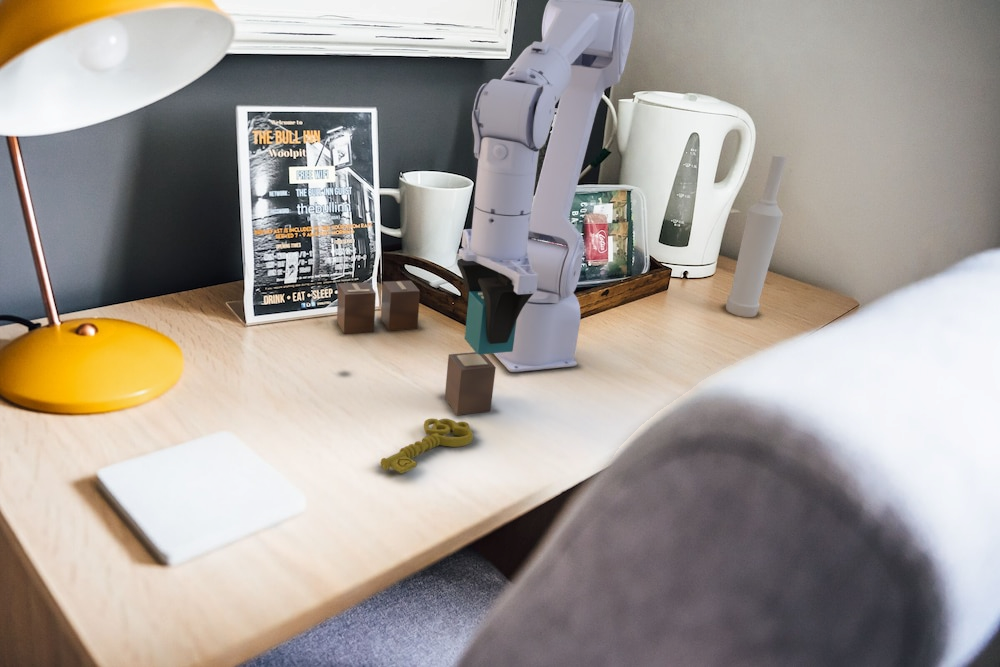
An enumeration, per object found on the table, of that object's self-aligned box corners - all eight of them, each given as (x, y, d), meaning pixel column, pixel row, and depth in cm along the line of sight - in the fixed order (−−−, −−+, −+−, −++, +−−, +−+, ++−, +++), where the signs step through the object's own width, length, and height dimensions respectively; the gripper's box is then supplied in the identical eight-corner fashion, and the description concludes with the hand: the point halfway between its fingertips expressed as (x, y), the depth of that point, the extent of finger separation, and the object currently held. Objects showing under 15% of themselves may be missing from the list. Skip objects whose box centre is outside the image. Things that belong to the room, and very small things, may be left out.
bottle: (722, 303, 127) (759, 150, 117) (754, 308, 126) (793, 155, 116) (726, 314, 122) (765, 156, 112) (759, 319, 121) (801, 161, 112)
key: (400, 468, 71) (363, 446, 73) (399, 480, 71) (363, 458, 74) (483, 427, 79) (448, 409, 82) (482, 438, 80) (447, 419, 83)
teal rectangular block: (498, 336, 85) (503, 288, 82) (512, 351, 81) (519, 302, 79) (464, 338, 83) (469, 290, 81) (477, 354, 80) (483, 304, 77)
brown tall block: (477, 394, 88) (481, 350, 86) (490, 411, 85) (496, 366, 83) (444, 398, 87) (448, 353, 85) (457, 415, 84) (461, 369, 81)
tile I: (408, 317, 107) (411, 279, 105) (417, 328, 104) (420, 289, 101) (380, 319, 105) (382, 280, 103) (388, 330, 102) (390, 291, 100)
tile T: (366, 320, 105) (367, 281, 102) (374, 331, 101) (375, 292, 99) (336, 321, 103) (337, 282, 101) (343, 334, 100) (345, 293, 97)
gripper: (439, 189, 80) (430, 309, 86) (495, 230, 69) (480, 366, 74) (501, 189, 83) (488, 305, 89) (564, 229, 71) (545, 360, 77)
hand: (489, 333), depth 82 cm, fingers closed on teal rectangular block, 4 cm apart
